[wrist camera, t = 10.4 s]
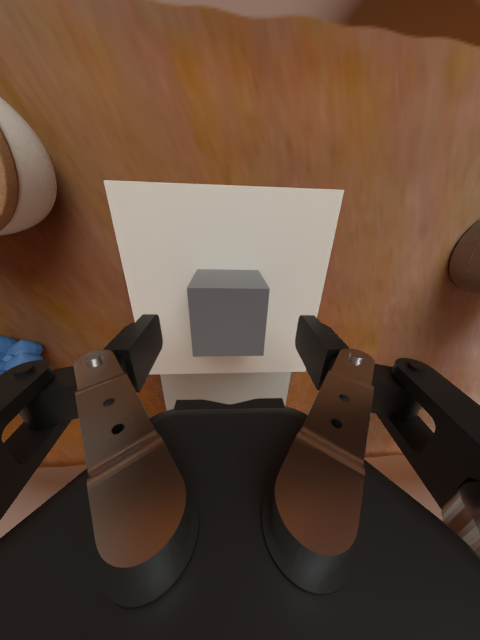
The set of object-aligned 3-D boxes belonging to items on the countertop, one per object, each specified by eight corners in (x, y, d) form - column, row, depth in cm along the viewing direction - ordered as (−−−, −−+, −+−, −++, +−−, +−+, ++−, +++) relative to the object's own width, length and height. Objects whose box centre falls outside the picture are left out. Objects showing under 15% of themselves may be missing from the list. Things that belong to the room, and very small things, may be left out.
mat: (297, 329, 28) (298, 330, 28) (281, 424, 36) (281, 426, 36) (153, 329, 27) (152, 330, 26) (170, 428, 35) (170, 430, 35)
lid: (336, 191, 14) (394, 178, 9) (301, 365, 21) (325, 410, 16) (111, 182, 13) (44, 162, 8) (150, 367, 20) (125, 416, 15)
